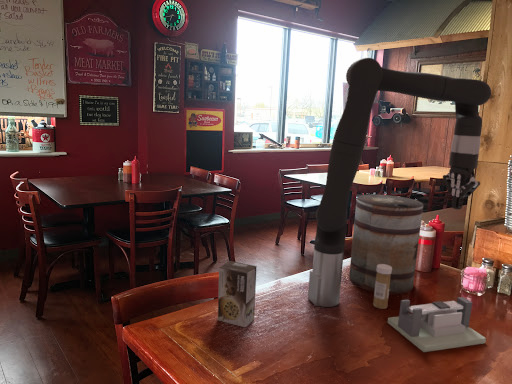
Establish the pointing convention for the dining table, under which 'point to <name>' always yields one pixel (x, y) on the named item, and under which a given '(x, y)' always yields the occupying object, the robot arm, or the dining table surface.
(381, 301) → the sprinkles bottle
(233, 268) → the coffee box
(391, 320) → the board
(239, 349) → the dining table surface
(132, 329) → the dining table surface
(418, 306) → the clamp bar
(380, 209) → the barrel
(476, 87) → the robot arm
